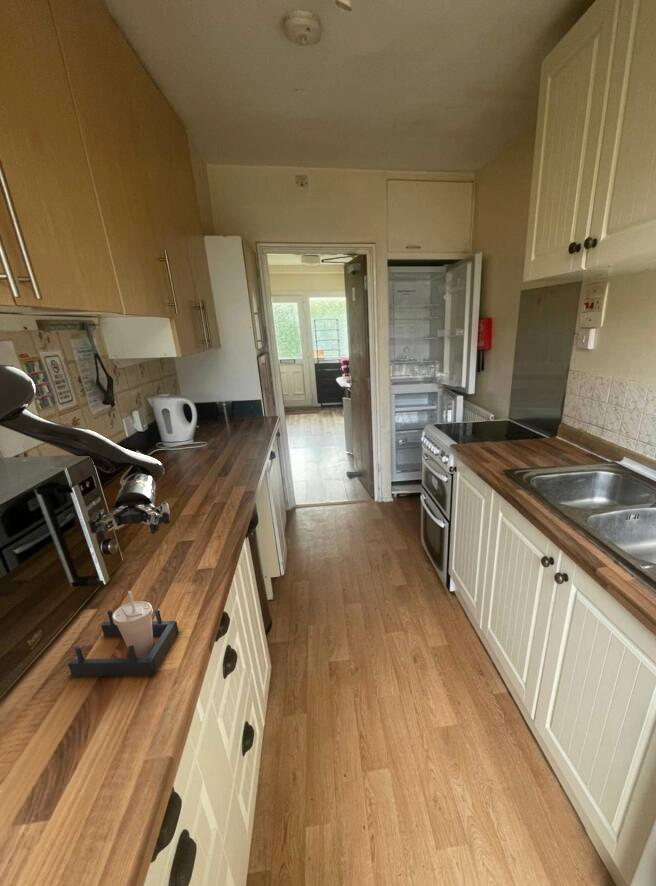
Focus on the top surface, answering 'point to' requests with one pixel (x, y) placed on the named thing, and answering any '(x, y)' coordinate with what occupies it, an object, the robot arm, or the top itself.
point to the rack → (133, 664)
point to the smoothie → (135, 625)
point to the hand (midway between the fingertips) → (127, 532)
